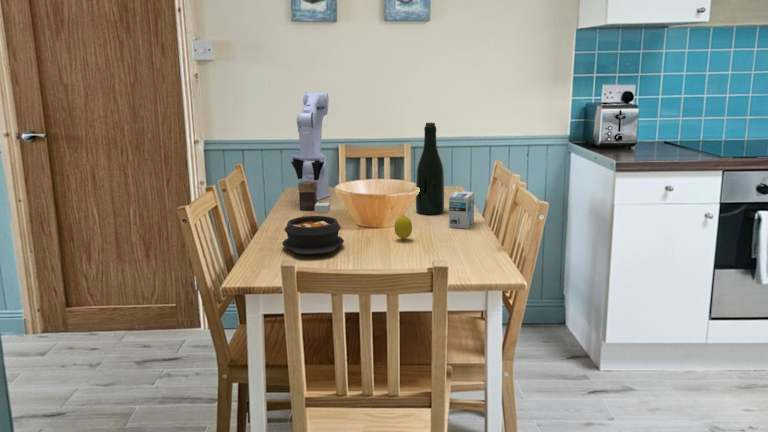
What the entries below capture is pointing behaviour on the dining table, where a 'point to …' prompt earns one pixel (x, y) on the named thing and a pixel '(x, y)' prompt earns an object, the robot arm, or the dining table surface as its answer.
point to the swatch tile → (325, 202)
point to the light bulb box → (461, 209)
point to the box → (307, 200)
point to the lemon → (403, 227)
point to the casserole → (312, 235)
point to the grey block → (322, 207)
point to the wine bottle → (430, 176)
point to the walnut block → (307, 186)
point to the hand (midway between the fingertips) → (308, 179)
